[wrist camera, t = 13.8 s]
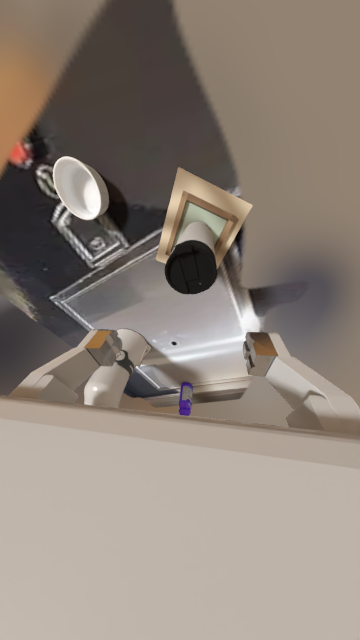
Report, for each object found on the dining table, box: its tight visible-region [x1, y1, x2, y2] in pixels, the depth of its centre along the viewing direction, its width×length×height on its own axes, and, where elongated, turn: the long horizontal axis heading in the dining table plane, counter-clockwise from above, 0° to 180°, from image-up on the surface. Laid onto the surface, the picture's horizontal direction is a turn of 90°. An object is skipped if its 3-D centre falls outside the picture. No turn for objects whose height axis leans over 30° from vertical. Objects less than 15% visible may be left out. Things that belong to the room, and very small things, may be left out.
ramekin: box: [53, 157, 109, 220], centre depth 29 cm, size 9×9×4 cm
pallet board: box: [156, 167, 252, 269], centre depth 32 cm, size 17×15×2 cm
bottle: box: [179, 383, 193, 416], centre depth 74 cm, size 7×6×17 cm
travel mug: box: [165, 221, 217, 294], centre depth 24 cm, size 6×7×20 cm
